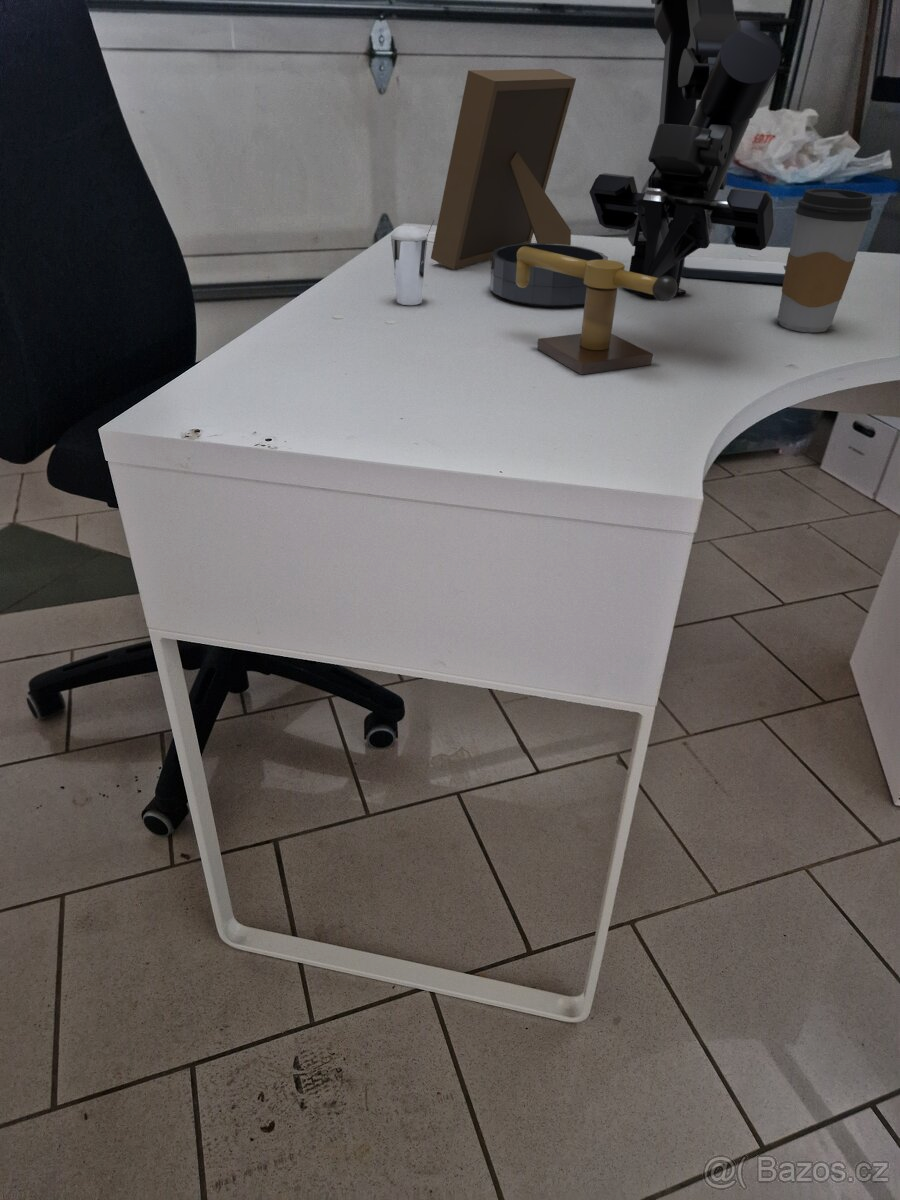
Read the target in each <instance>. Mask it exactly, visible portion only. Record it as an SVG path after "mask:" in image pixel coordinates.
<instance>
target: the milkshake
mask: <svg viewBox="0 0 900 1200" xmlns="http://www.w3.org/2000/svg"><path fill="white" fill-rule="evenodd" d="M434 221H435V220H434V219H433V220H432V223H431V224H430V227H429V229H428V231H427V232H426V230H424V229H423V228H421V227H418V226H415V225H398V226H397V227H395V228H394V229H393V230H392V232H391V233H390V239H391V240H390V241H391V250H392V252H391V253H392V258H393V266H394V267H393V268H394V280H395V281H394V283H395V294H396V295H395V296H396V303H397V304H399V305H402V306H416V305H421V304H422V302H423V289H424V275H425V265H426V264H425V263H426V254H427V246H428V236H429V234H430V231H431V229H432V227H433V224H434Z"/></svg>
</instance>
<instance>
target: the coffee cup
mask: <svg viewBox="0 0 900 1200" xmlns="http://www.w3.org/2000/svg"><path fill="white" fill-rule="evenodd" d="M872 200H873V195H872V194H870V193H867V192H861V191H857V190H856V191H855V190H849V189H841V188H840V189H839V188H808V189H806V190H804V193H803V196H802V199H799V200H798V203H797V207H796V208H795V211H794V212H795V213H796V214H795V219H794V225H793V231H792V237H791V242H790V248H789V252H788V254H787V260H786V263H787V265H786V270H785V276H784V281H783V284H782V287H781V297H780V298H781V299H780V302H779V308H778V313H777V319H778V324H779V325H780V326H781V327H783V328H785V329H788V330H791V331H795V332H801V333H812V334H813V333H814V334H815V333H823V332H826V331H828V329H829V327H830V326H832V324H833V321H834V319H835V316H836V313H837V310H838V308H839V304H840V302H841V301H842V298H843V295H844V292H845V289H846V287H847V284H848V282H849V278H850V276H851V272H852V270H853V268H854V265H855V262H856V257H857V255H858V252H859V249H860V245H861V243H862V240H863V237H864V234H865V231H866V229H867V226H868V223H869V221H871V220H872V212H873V210H874V206H873V205H872V202H873V201H872Z"/></svg>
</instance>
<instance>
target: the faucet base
mask: <svg viewBox="0 0 900 1200" xmlns="http://www.w3.org/2000/svg"><path fill="white" fill-rule="evenodd" d="M617 295H618V288H613V289H602V288H594V287H590V286H587V289H586V297H585V304H584V307H583V315H582V322H581V323H582V324H581V333H574V334H565V335H555V336H550V337H539V338H538V339H537V348H536V349H537V350H538V351H539V352H541V353H543V354H545V355H547V356H548V357H550V358H551V359H553V360H555V361H556V362H558V363H560V364H562V365H564V366H565V367H567V368H569V369H570V370H572V371H574V372H576V373H577V374H579V375H581V376H582V375H587V374H588V375H589V374H594V373H603V372H610V371H615V370H616V371H617V370H622V369H623V370H625V369H630V368H638V367H645V366H650V365H652V363H653V357H654V354H653V353H652V352H650V351H648V350H646V349H644V348H642V347H640V346H638V345H636V344H634V343H632V342H630V341H628V340H625V339H623V338H621V337H619V336H618V335H616V334H613V333H612V331H613V324H614V316H615V310H616V302H617Z"/></svg>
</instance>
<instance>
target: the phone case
mask: <svg viewBox="0 0 900 1200" xmlns="http://www.w3.org/2000/svg"><path fill="white" fill-rule="evenodd" d="M786 265H787V262H781V261H766V260H751V259H734V258H733V259H732V258H716V257H704V256H703V257H701V256H700V257H699V256H686V257H685V258H684V263H683V268H682V274H681V277H683V278H695V279H708V280H709V279H710V280H722V281H723V280H724V281H739V282H753V283H765V284H777V285H783V281H784V276H785V270H786Z"/></svg>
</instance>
